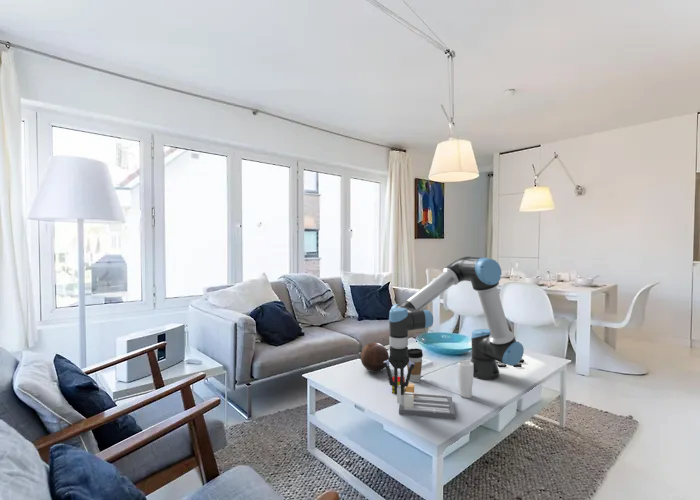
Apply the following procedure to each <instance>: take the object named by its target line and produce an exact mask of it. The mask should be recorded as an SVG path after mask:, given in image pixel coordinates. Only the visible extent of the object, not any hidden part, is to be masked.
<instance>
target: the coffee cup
mask: <svg viewBox="0 0 700 500" xmlns="http://www.w3.org/2000/svg"><path fill="white" fill-rule="evenodd" d="M423 356H424V353H423V350H422V349H421V348H408V358H409V361H411V362H414V367H413V369H412V371H411V375H410V379H409V382H413V383H418V382H421V375H422V367H423V366H422V363H423ZM408 365H409V364H407V365H406V367H407V368H406V369H407V370H408V369H409V366H408Z"/></svg>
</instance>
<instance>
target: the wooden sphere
mask: <svg viewBox="0 0 700 500" xmlns="http://www.w3.org/2000/svg"><path fill="white" fill-rule="evenodd" d="M389 357H390V353H389V352H388V350H387V348H386V347H385V346H384V345H383V344H381V343H378V342H370V343H368V344H366V345H365V346H363V348H362V350H361V353H360V362H361V365H363V368H365V369H366V370H367V371H369V372H373V373H377V372H381V371H383V370H384V369H386V368H385V366H384V365H383V363H384V361H387V360H388V359H389Z"/></svg>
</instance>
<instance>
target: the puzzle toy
mask: <svg viewBox="0 0 700 500" xmlns="http://www.w3.org/2000/svg"><path fill="white" fill-rule="evenodd" d="M392 379H393V381H394V375H392ZM404 382H406V378H405V376H404ZM398 385H401V377H400V376H398ZM391 390H392V391H391V393H392V394H395V393H394V386H391ZM405 392H406V386H405V387H404V393H405Z"/></svg>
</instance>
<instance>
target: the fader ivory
mask: <svg viewBox="0 0 700 500" xmlns="http://www.w3.org/2000/svg"><path fill="white" fill-rule="evenodd" d="M414 393H415V392H414ZM414 393H411V392H406V391H405V393H404V394H405V395H404V407H407V408H413V406H414Z"/></svg>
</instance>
